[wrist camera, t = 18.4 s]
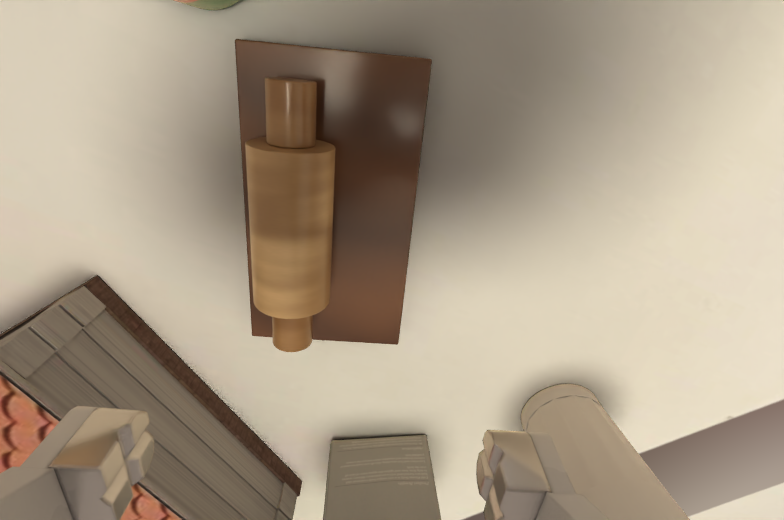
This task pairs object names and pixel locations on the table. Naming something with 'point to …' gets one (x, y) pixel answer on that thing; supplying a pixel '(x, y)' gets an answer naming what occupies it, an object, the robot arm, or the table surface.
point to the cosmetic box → (381, 480)
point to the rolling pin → (290, 213)
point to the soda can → (209, 3)
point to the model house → (137, 392)
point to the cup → (598, 455)
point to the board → (351, 174)
